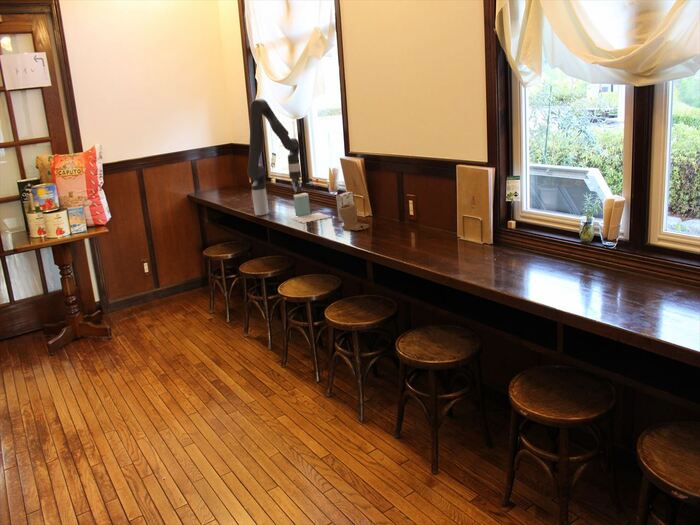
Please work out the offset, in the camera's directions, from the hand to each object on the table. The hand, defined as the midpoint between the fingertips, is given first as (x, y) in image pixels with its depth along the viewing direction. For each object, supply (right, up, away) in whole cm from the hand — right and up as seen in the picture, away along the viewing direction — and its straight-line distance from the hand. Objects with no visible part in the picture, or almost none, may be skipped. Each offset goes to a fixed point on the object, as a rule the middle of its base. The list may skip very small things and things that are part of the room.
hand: (297, 196), depth 403 cm
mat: (+9, -15, -11) cm, 20 cm away
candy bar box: (+32, -17, -23) cm, 43 cm away
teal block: (+4, -12, -1) cm, 13 cm away
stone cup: (+36, -24, -48) cm, 64 cm away
